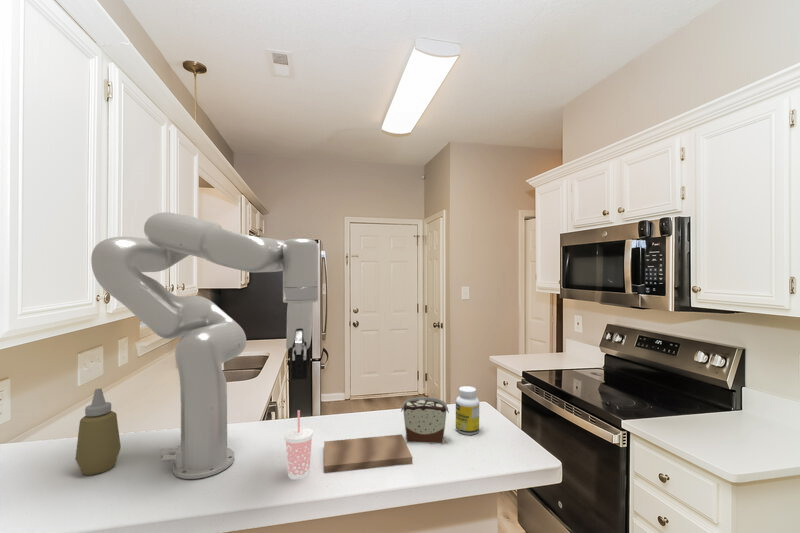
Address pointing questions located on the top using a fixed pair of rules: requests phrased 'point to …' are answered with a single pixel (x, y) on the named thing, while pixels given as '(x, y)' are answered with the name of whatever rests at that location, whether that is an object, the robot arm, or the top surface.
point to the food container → (424, 420)
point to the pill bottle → (467, 411)
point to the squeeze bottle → (98, 437)
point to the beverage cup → (298, 451)
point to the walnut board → (365, 453)
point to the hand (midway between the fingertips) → (300, 372)
